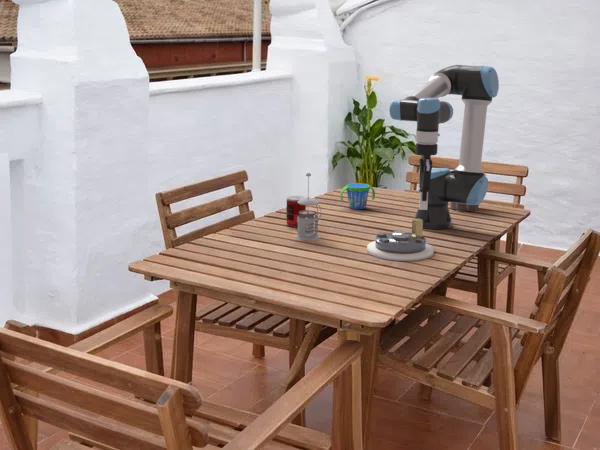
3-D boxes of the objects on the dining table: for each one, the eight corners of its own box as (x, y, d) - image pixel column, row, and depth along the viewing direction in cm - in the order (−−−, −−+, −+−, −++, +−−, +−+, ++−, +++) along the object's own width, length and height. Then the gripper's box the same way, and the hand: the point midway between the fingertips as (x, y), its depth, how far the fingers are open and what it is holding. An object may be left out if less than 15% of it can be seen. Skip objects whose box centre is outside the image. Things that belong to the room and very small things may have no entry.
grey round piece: (396, 256, 293) (397, 230, 291) (365, 244, 308) (366, 219, 306) (435, 249, 303) (437, 224, 301) (404, 238, 318) (405, 214, 315)
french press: (289, 236, 324) (290, 172, 318) (309, 231, 332) (310, 168, 326) (308, 241, 317) (309, 176, 311) (328, 236, 326) (330, 172, 320)
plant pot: (488, 208, 378) (491, 172, 374) (475, 214, 364) (478, 178, 360) (454, 203, 386) (456, 168, 382) (440, 209, 373) (442, 173, 369)
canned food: (308, 222, 346) (308, 196, 343) (301, 227, 339) (302, 200, 336) (290, 221, 348) (290, 195, 346) (283, 225, 341) (283, 198, 338)
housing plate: (420, 241, 320) (420, 236, 319) (443, 259, 297) (443, 253, 297) (359, 244, 315) (359, 239, 314) (378, 262, 292) (378, 256, 292)
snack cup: (342, 210, 368) (343, 188, 365) (337, 205, 378) (338, 183, 375) (377, 210, 370) (378, 187, 368) (371, 204, 380) (372, 182, 378)
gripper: (440, 145, 287) (436, 213, 292) (434, 140, 300) (430, 205, 305) (418, 145, 287) (414, 213, 292) (413, 140, 300) (410, 205, 305)
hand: (423, 209), depth 299 cm, fingers closed
